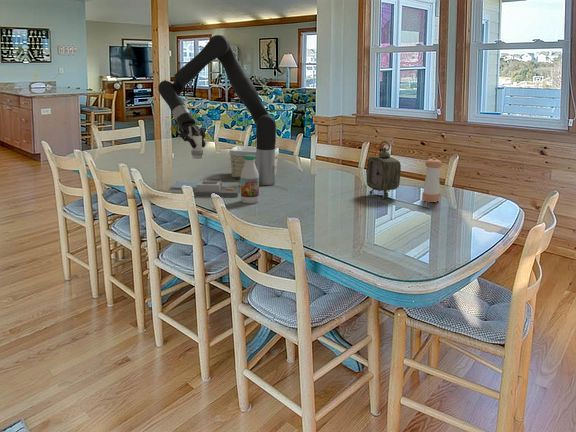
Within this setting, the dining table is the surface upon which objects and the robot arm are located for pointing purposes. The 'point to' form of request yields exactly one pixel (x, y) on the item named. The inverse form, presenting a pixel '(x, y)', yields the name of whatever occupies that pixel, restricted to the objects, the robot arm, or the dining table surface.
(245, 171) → the milk bottle
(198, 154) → the plug
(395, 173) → the tabletop clock
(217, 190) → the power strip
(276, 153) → the storage basket
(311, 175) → the dining table surface
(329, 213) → the dining table surface
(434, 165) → the pepper shaker
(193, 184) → the slate pad
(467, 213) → the dining table surface
